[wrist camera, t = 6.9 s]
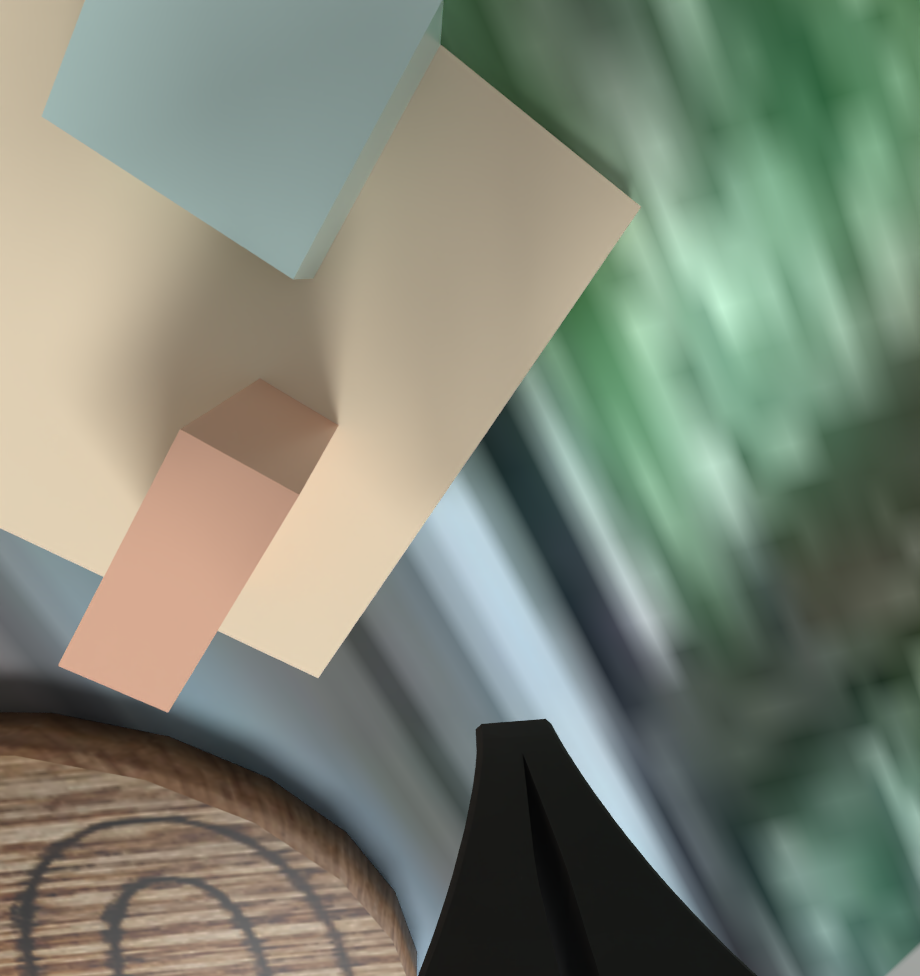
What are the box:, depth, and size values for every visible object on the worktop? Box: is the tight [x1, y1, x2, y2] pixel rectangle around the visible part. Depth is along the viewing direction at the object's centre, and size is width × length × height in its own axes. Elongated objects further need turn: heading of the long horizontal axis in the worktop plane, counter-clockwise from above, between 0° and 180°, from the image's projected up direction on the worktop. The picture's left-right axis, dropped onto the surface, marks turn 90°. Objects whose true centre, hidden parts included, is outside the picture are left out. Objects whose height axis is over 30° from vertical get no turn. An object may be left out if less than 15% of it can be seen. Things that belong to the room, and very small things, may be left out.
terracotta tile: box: [58, 378, 339, 712], centre depth 12 cm, size 2×5×4 cm, turn 147°
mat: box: [0, 0, 641, 678], centre depth 13 cm, size 13×14×1 cm
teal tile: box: [42, 0, 444, 279], centre depth 10 cm, size 2×5×4 cm
